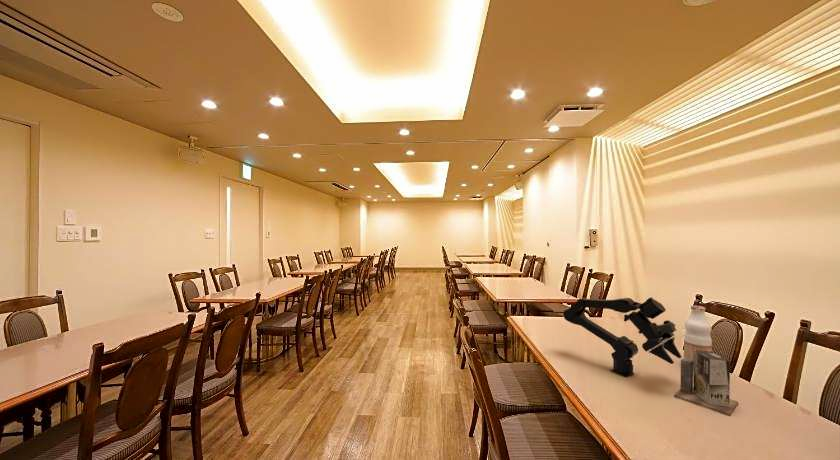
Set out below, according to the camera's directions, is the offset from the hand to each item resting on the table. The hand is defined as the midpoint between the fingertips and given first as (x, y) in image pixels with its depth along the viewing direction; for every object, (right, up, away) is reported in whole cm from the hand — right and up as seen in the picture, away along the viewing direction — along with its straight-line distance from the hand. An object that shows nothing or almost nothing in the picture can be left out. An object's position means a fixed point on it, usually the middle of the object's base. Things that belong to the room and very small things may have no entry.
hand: (676, 360), depth 123 cm
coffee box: (+6, -11, -8) cm, 15 cm away
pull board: (+5, -12, -7) cm, 14 cm away
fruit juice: (+25, -12, +20) cm, 34 cm away
